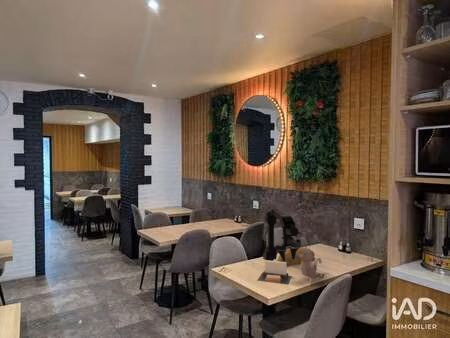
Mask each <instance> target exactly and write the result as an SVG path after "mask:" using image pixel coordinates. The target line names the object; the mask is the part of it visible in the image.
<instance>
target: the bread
mask: <svg viewBox="0 0 450 338" xmlns="http://www.w3.org/2000/svg"><path fill="white" fill-rule="evenodd" d="M304 248H305V247H304V246H303V247H302V246H301V248H299V249H298V250H297V251H296V255H295V259H292V255H291V251H290V248H286V252H285V261H283V260H282V258H281V256H280V254H279V256H277V259H276V260H277V261H278V262H287V267H289V266H296V265H301V258H300V257H299V255H300V253H301V251H303V250H304ZM310 250H311V253H312V256H313V259H312V262H314V260H315V259H316V257H315V254H316V253H315V252H314V251H313V249H310Z"/></svg>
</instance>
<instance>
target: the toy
mask: <svg viewBox="0 0 450 338" xmlns="http://www.w3.org/2000/svg"><path fill="white" fill-rule="evenodd" d="M303 248H304V250H303V251H301V253H300V255H299V257H300V258H301V264H300V270H301V274H302V275H303V276H304V277H309V278H310V279H314V278H317V268H318V267H317V264H318V263H319V264H322V263H323V261H322V258H321V257H320V256H319V257H315V258H314V260H313V261H312V259H313V256H312V253H311V250H312V249H310V247H307V246H304V247H303Z"/></svg>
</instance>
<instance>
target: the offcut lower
mask: <svg viewBox="0 0 450 338" xmlns="http://www.w3.org/2000/svg"><path fill="white" fill-rule="evenodd" d="M266 277H267V276H266ZM281 281H282V278H280V281H277V280H266V278H265V282H264V283H271V282H272V283H274V284H279V283H280V285H282V284H281Z"/></svg>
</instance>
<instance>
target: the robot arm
mask: <svg viewBox="0 0 450 338" xmlns="http://www.w3.org/2000/svg"><path fill="white" fill-rule="evenodd" d="M277 220H279V223H280V224H281V227H280V228H281V229H282V236H281V240H282V243H281V244H276V245H275V225H276V223H277ZM264 222H265V224H266V226H267V228H266V229H267V231H266V235H267V238H266V239H267V240H266V241H267V242H266V243H267V244H266V247H265V249H264V252H263V254H262V259H263V260H264V261H265V260H269V261H275V260H277V258H278V254H279V255H280V256H281V258H282V260H283V261H285V252H286V250H287V249H290V251H291V255H292V259H295V255H296V251H297V250H298V249H299V248H301V247H302V246H301V245H302V240H301V239H300V238H299V239H295V238H294V237H297V236H299V229H298V228H297V227H296V223H295V221H294V219H293V217H292V216H291V215H289V214H284V213H283V212H281V211H280V210H279V209H278V208H275V209H274V208H273V209H270V211H268V212H266V213H265V215H264Z"/></svg>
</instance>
